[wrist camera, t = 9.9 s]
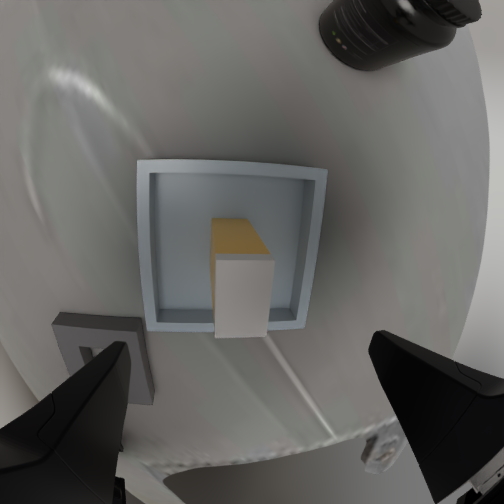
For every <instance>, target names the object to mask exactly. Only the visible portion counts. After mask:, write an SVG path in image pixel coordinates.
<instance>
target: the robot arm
mask: <svg viewBox="0 0 504 504" xmlns="http://www.w3.org/2000/svg"><path fill="white" fill-rule="evenodd" d="M368 352H369V355H370V358H371V361H372V363H373V366H374V368H375V371H376V373H377V376H378V379H379V381H380V384H381V386H382V388H383V390H384V392H385V394H386V396H387V398H388V400H389V402H390V404H391V406H392V408H393V410H394V412H395V414H396V416H397V418H398V420H399V423H400V425H401V427H402V429H403V431H404V433H405V435H406V437H407V440H408V442H409V444H410V446H411V448H412V451H413V453H414V455H415V457H416V459H417V462H418V464H419V467H420V469H421V471H422V474H423V476H424V479H425V481H426V483H427V486H428V488H429V490H430V493H431V496H432V498H433V501H434V503H435V504H437V503H439V502H440V501H442V500H443V499H445V498H446V497H448V496H449V495H451V494H452V493H454V492H455V491H456V490H458V489H459V488H460V487H462V486H463V485H464V484H466V483H467V482H469V483H470V485H471V486H472V488H471V489H470V490H469V491H467V492H466V493H465V494H464V495H462V496H461V497H460V498H458V499H457V503H456V504H504V379H502V378H499V377H496V376H493V375H490V374H487V373H484V372H481V371H478V370H476V369H473V368H470V367H468V366H465V365H463V364H460V363H458V362H456V361H455V362H454V361H453V360H451V359H449V358H447V357H444V356H442V355H440V354H437V353H435V352H433V351H431V350H428V349H426V348H424V347H421V346H419V345H417V344H415V343H412V342H410V341H408V340H406V339H403V338H401V337H399V336H397V335H394V334H392V333H390V332H388V331H385V330H381V331H376V332H375V333H374V334H373V337H372V340H371V343H370V345H369V349H368ZM130 375H131V357H130V353H129V348H128V344H127V343H126V342H125V341H114V342H113V343H112V344H110V345H109V346H108V347H107V348H105V349H104V350H103V351H102V352H100V353H99V354H98V355H97V356H95V357H94V358H93V359H92V360H90V361H89V362H88V363H87V364H85V365H84V366H83V367H82V368H81V369H79V370H78V371H77V372H76V373H74V374H73V375H72V376H71V377H69V378H68V379H67V380H66V381H65V382H63V383H62V384H61V385H60V386H58V387H57V388H56V389H55V390H54V391H52V394H51V393H50V394H49V395H47V396H46V397H45V398H44V399H43V400H41V401H40V402H39V403H38V404H36V405H35V406H34V407H32V408H31V409H29V410H28V411H26V412H25V413H24V414H23V415H21V416H19V417H18V418H16V419H15V420H13V421H11V422H10V423H8V424H7V425H5V426H4V427H2V428H1V429H0V504H126V496H125V479H124V478H121V477H120V478H119V477H116V476H115V474H116V467H117V460H118V454H119V452H123V447H122V445H121V443H120V442H121V436H122V430H123V425H124V420H125V415H126V410H127V405H128V396H129V385H130Z"/></svg>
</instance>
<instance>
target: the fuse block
mask: <svg viewBox="0 0 504 504" xmlns="http://www.w3.org/2000/svg"><path fill="white" fill-rule="evenodd" d="M51 325H52V328H53V331H54V334H55V337H56V340H57V343H58V346H59V349H60V351H61V354H62V357H63V359H64V362H65V364H66V367H67V369H68V372H69V374H70V377H71V376H72V375H73V374H74V373H76V372H77V371H78V370H79V369H81V368H82V367H83V366H84V365H85V364H87V363H88V362H89V361H90V360H92V359H93V357H92V354H91V350H90V347H91V348H100V349H105V348H107V347H108V346H109V345H110V344H112V343H113V342H114V341H125V342H126V343H127V344H128V348H129V353H130V357H131V375H130V385H129V396H128V403H131V404H142V405H153V399H154V392H155V390H154V386H153V382H152V377H151V372H150V367H149V362H148V357H147V352H146V346H145V340H144V334H143V328H142V322H141V318H129V317H112V316H97V315H84V314H73V313H63V312H60V313H59V314H58V316H57V317H56V318H55V320H54V321H53V323H52V324H51Z"/></svg>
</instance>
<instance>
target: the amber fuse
mask: <svg viewBox="0 0 504 504" xmlns="http://www.w3.org/2000/svg"><path fill="white" fill-rule="evenodd" d="M274 266H275V260H274V258H273V257H272V255H271V254H270V252H269V251H268V249H267V248H266V246H265V245H264V243H263V242H262V240H261V238H260V237H259V235H258V234H257V232H256V231H255V229H254V228H253V226H252V225H251V223H250V222H249V220H248V219H231V218H211V250H210V278H211V293H212V307H213V319H214V331H215V338H244V337H266V336H267V327H268V319H269V311H270V302H271V293H272V284H273V275H274Z"/></svg>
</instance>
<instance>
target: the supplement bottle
mask: <svg viewBox="0 0 504 504" xmlns="http://www.w3.org/2000/svg"><path fill="white" fill-rule="evenodd" d="M481 11H482V10H481V6H480V3H479V0H334V1H333V2H332V3H331V4H330V5H329V6H328V7H327V8H326V9H325V10H324V12H323V13H322V16H321V19H320V31H321V34H322V37H323V39H324V41H325V43H326V45H327V46H328V48H329V49H330V50H331V51H332V52H333V53H334V54H335V55H336V56H337V57H338V58H339V59H340V60H342V61H343V62H345V63H346V64H348V65H350V66H352V67H355V68H358V69H361V70H377V69H381V68H384V67H387V66H389V65H392V64H395V63H398V62H400V61H403V60H406V59H409V58H412V57H415V56H418V55H421V54H425V53H428V52H431V51H434V50H438V49H441V48H444V47H446V46H448V45H449V44H450V43H451V42H452V41H453V39H454V37H455V34H456V28H461V27H464V26H465V25H466V24H468V23H472V22H476V21H478V20H479V19H480V18H481V15H482V14H481Z"/></svg>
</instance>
